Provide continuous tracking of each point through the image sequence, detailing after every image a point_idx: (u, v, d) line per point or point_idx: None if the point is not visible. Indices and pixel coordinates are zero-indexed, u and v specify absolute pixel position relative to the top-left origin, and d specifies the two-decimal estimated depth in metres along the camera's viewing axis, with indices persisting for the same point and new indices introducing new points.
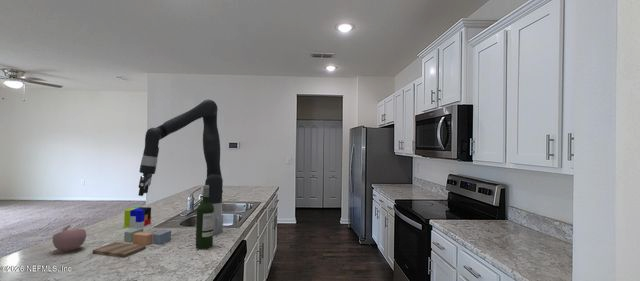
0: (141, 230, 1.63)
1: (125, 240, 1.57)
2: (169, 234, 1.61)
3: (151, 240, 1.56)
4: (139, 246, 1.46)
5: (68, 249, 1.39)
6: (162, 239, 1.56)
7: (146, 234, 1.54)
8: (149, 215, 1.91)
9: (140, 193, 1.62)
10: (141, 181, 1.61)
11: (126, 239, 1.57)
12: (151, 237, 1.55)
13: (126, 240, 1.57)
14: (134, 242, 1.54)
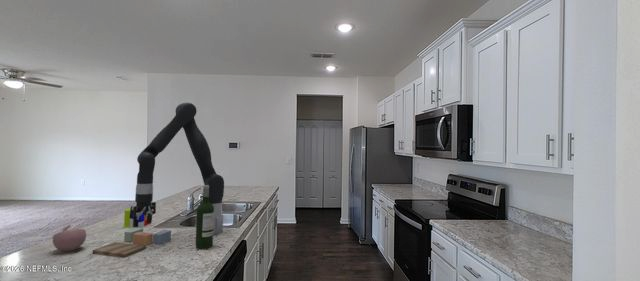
0: (141, 230, 1.64)
1: (125, 240, 1.57)
2: (169, 234, 1.61)
3: (151, 240, 1.56)
4: (139, 246, 1.46)
5: (68, 249, 1.39)
6: (162, 239, 1.56)
7: (146, 234, 1.54)
8: None
9: (134, 224, 1.50)
10: (131, 211, 1.49)
11: (126, 239, 1.57)
12: (151, 237, 1.55)
13: (126, 240, 1.57)
14: (134, 242, 1.54)
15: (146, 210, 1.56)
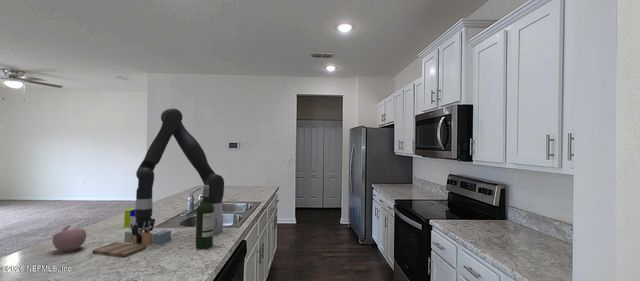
0: None
1: (125, 240, 1.57)
2: (169, 234, 1.61)
3: (151, 240, 1.56)
4: (139, 246, 1.46)
5: (68, 249, 1.39)
6: (162, 239, 1.56)
7: (146, 234, 1.54)
8: None
9: (137, 241, 1.52)
10: (133, 230, 1.50)
11: (126, 239, 1.57)
12: (151, 237, 1.55)
13: (126, 240, 1.57)
14: (134, 242, 1.54)
15: (145, 225, 1.55)
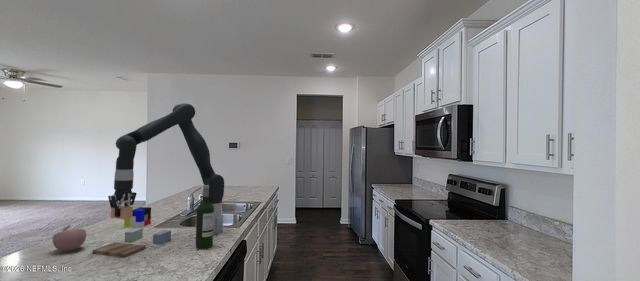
0: (141, 230, 1.64)
1: (126, 240, 1.57)
2: (169, 234, 1.61)
3: (131, 214, 1.45)
4: (139, 246, 1.46)
5: (68, 249, 1.39)
6: (162, 239, 1.56)
7: (125, 207, 1.44)
8: (149, 215, 1.91)
9: (115, 214, 1.42)
10: (110, 201, 1.40)
11: (127, 239, 1.57)
12: (130, 211, 1.45)
13: (127, 240, 1.57)
14: (113, 216, 1.44)
15: (125, 197, 1.45)
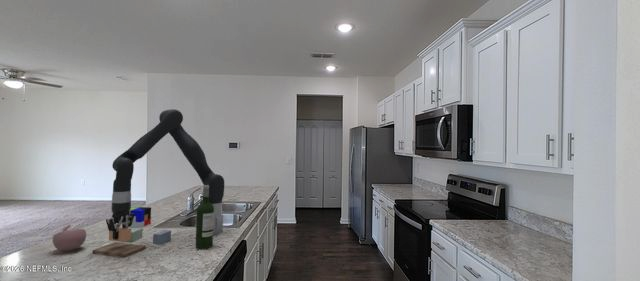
0: (141, 230, 1.64)
1: None
2: (169, 234, 1.61)
3: (129, 236, 1.44)
4: (139, 246, 1.46)
5: (68, 249, 1.39)
6: (162, 239, 1.56)
7: (123, 229, 1.43)
8: (149, 215, 1.91)
9: (113, 237, 1.41)
10: (108, 225, 1.38)
11: None
12: (129, 233, 1.44)
13: None
14: (111, 238, 1.43)
15: (123, 219, 1.44)
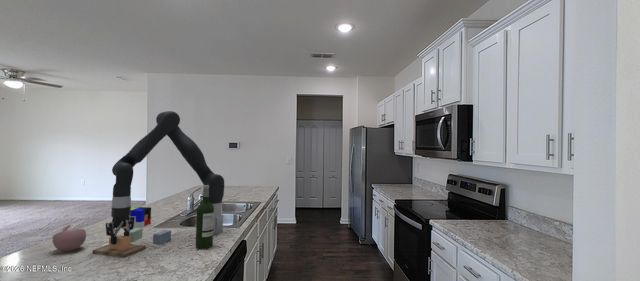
0: (141, 230, 1.64)
1: None
2: (169, 234, 1.61)
3: (129, 244, 1.44)
4: (139, 246, 1.46)
5: (68, 249, 1.39)
6: (162, 239, 1.56)
7: (123, 237, 1.43)
8: (149, 215, 1.91)
9: (111, 242, 1.40)
10: (107, 229, 1.38)
11: None
12: (129, 240, 1.44)
13: None
14: (111, 246, 1.43)
15: (123, 225, 1.44)
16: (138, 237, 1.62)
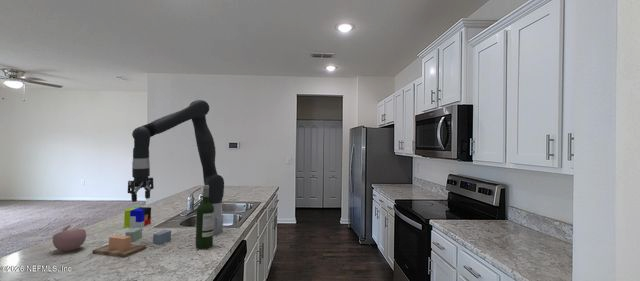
0: (140, 230, 1.64)
1: None
2: (169, 234, 1.61)
3: (129, 244, 1.44)
4: (139, 246, 1.46)
5: (68, 249, 1.39)
6: (162, 239, 1.56)
7: (123, 237, 1.43)
8: (149, 215, 1.91)
9: (132, 199, 1.50)
10: (129, 186, 1.48)
11: None
12: (129, 240, 1.44)
13: None
14: (111, 246, 1.43)
15: (144, 185, 1.55)
16: (138, 237, 1.62)
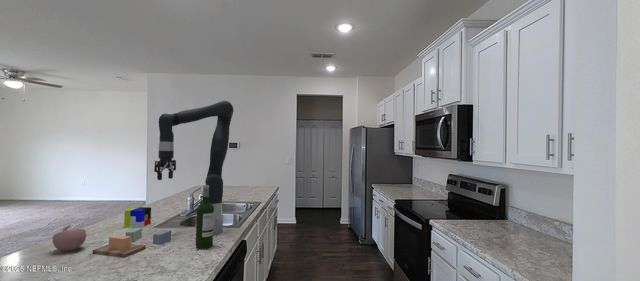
0: (140, 230, 1.64)
1: None
2: (169, 234, 1.61)
3: (129, 244, 1.44)
4: (139, 246, 1.46)
5: (68, 249, 1.39)
6: (162, 239, 1.56)
7: (123, 237, 1.43)
8: (149, 215, 1.91)
9: (158, 177, 1.68)
10: (156, 165, 1.66)
11: None
12: (129, 240, 1.44)
13: None
14: (111, 246, 1.43)
15: (168, 166, 1.73)
16: (138, 237, 1.62)
